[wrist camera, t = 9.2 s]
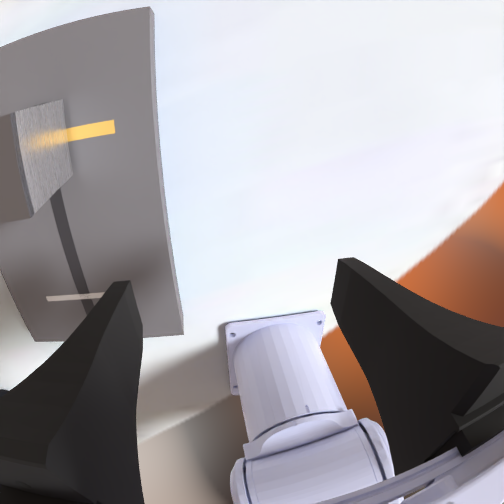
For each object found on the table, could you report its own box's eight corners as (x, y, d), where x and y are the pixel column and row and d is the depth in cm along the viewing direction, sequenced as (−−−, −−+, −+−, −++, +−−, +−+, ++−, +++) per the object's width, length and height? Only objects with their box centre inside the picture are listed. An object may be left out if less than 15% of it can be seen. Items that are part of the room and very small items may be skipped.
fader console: (183, 315, 23) (183, 334, 21) (42, 324, 21) (34, 341, 20) (154, 14, 13) (149, 6, 11) (-25, 66, 11) (-43, 68, 9)
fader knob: (73, 174, 14) (30, 218, 10) (26, 183, 14) (-23, 228, 9) (62, 99, 12) (9, 113, 8) (14, 112, 12) (-45, 134, 7)
